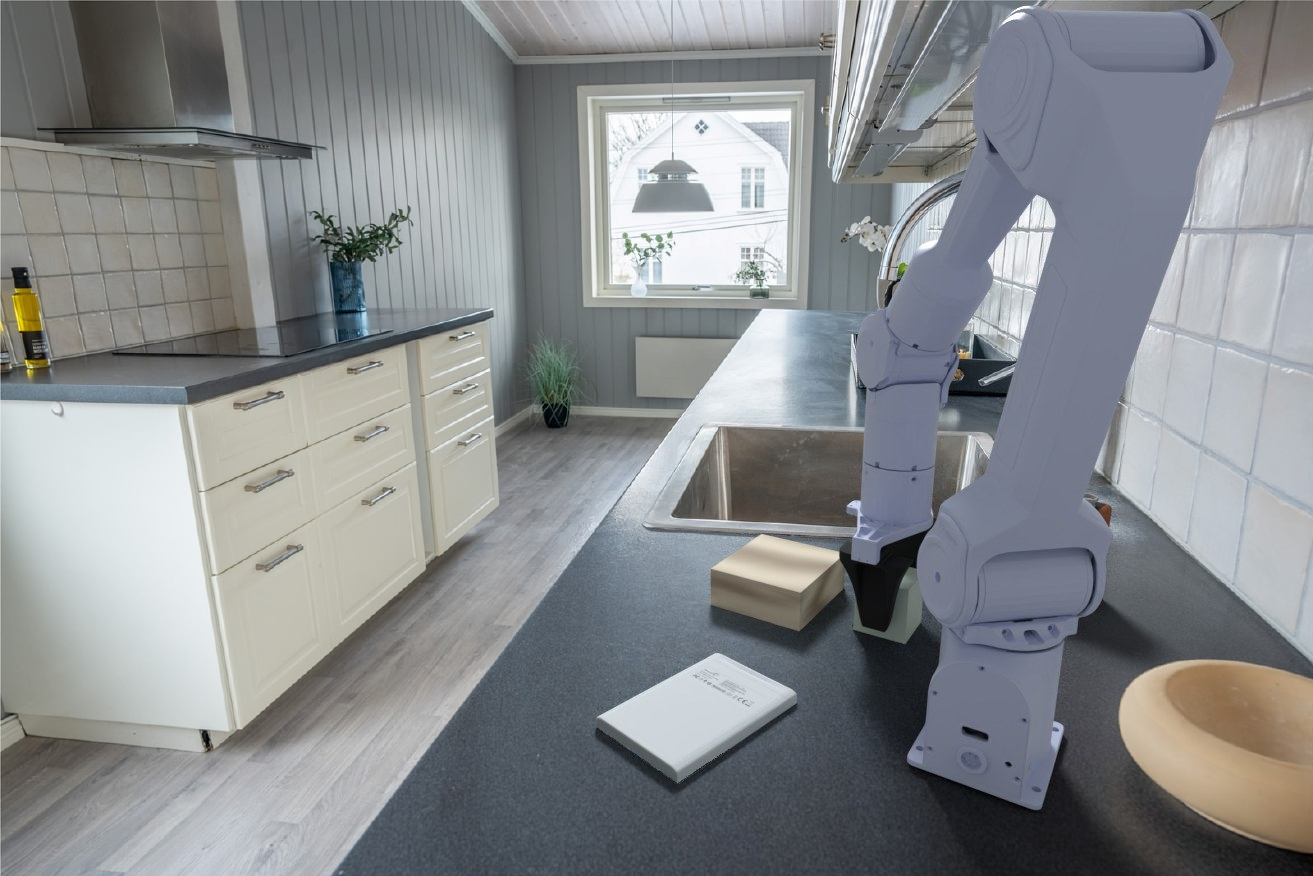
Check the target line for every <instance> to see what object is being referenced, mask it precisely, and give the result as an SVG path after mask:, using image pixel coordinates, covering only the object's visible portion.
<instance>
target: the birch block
mask: <svg viewBox="0 0 1313 876" xmlns="http://www.w3.org/2000/svg"><path fill="white" fill-rule="evenodd" d="M845 571H846V570H845V568H844V566H843V565H842V563H841V561H840V559H839V551H837V550H833V549H831V548H830V549H829V548H824V547H820V546H816V545H811V544H807V543H802V542H799V541H793V540H789V539H785V538H781V537H777V536H772V535H768V534H763V533H761V534H759V535H757V536H756V537H755V538H753V539H752V540H750V541H749V542H747V543H746V544H745V545H742V546H741V548H739V549H738V550H736V551H734V552H733V553H732V554H729V555H728V556H727V557H725V558H724V559H723V560H721V561H720V562H718V563H717V564H715V565H714V566H712V567H711V568H710V605H711V606H714V607H717V608H720V609H723V610H727V611H730V612H733V613H737V614H740V615H743V616H747V617H750V618H754V619H757V620H761V621H764V622H768V623H769V624H773V625H777V626H781V627H783V628H787V629H791V630H793V631H796V632H801V630H802V629H803V628H804V627H805V626H806V625H808V624H809V623H810V621H812V620H813V619H814V618H815V617H816V616H817V615H818V614H819V613H820V612H821V611H822V610H823V609H824V608H825V607H826V606H827V605H828V604H829V603H830V602H831V601H832V600H833V599H835V597H836V596H837V595H838V594H840V593H841V591H843V589H845Z"/></svg>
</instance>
